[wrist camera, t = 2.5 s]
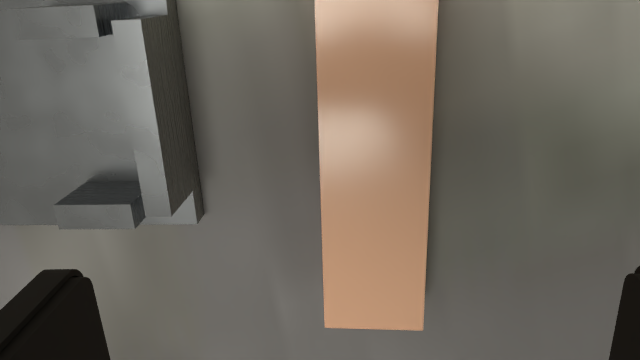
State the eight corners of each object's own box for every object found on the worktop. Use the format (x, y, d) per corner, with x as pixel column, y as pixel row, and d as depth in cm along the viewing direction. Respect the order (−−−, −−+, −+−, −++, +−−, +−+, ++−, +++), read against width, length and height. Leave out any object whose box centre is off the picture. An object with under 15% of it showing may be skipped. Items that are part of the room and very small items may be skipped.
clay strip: (429, -40, 19) (440, -44, 16) (416, 290, 24) (423, 330, 21) (321, -37, 20) (313, -40, 17) (329, 288, 24) (324, 327, 22)
